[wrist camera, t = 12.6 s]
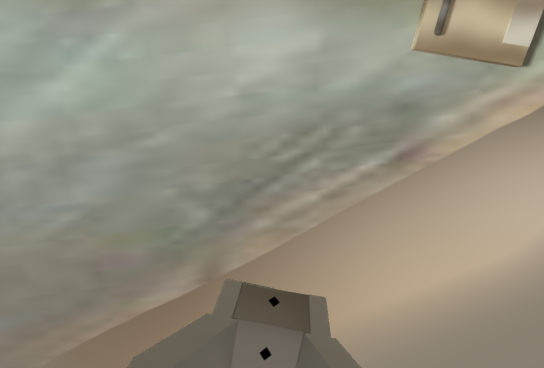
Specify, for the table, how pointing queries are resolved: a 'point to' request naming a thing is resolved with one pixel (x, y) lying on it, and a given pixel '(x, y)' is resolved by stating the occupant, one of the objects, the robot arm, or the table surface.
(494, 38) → the board
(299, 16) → the table surface
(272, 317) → the robot arm
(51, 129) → the table surface
